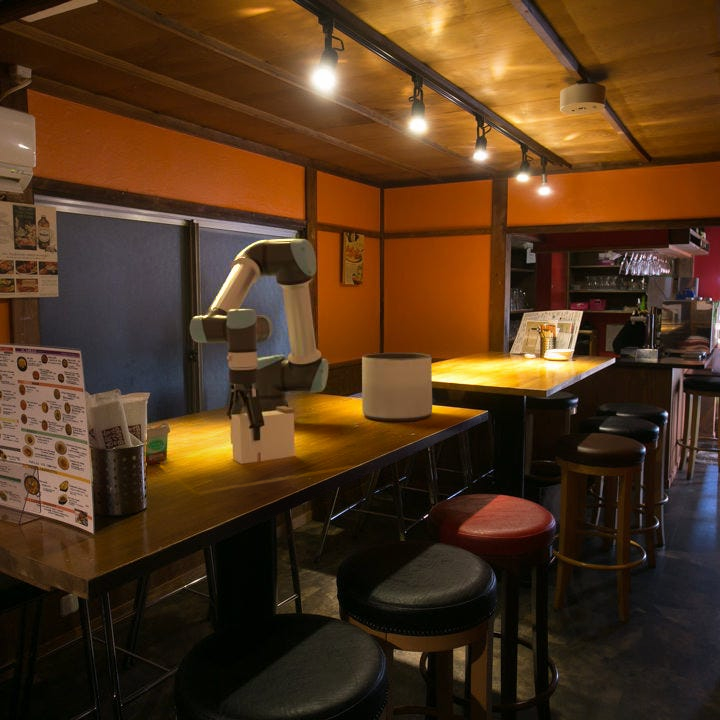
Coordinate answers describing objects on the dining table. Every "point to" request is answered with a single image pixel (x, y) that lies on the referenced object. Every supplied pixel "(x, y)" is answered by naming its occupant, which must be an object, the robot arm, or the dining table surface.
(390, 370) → the planter
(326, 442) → the dining table surface
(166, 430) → the food container
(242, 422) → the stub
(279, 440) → the cream rectangular box
